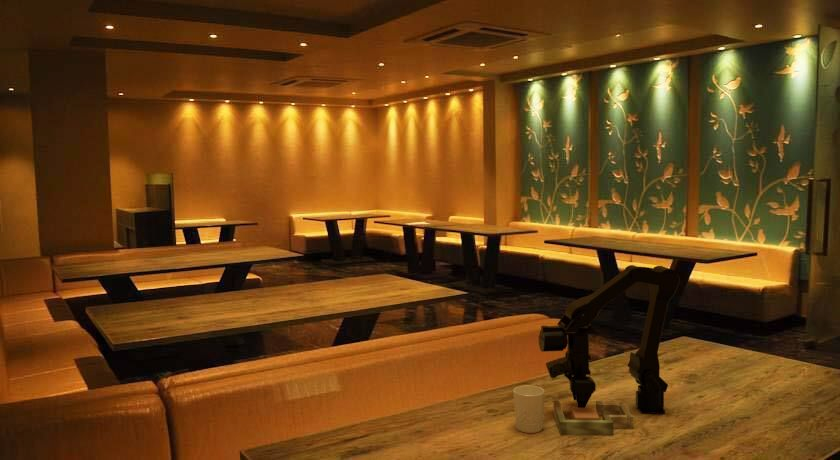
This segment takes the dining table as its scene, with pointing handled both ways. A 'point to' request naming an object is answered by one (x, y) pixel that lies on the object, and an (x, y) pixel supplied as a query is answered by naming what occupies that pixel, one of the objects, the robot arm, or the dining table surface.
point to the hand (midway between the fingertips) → (578, 406)
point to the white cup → (529, 408)
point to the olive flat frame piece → (612, 418)
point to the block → (584, 414)
